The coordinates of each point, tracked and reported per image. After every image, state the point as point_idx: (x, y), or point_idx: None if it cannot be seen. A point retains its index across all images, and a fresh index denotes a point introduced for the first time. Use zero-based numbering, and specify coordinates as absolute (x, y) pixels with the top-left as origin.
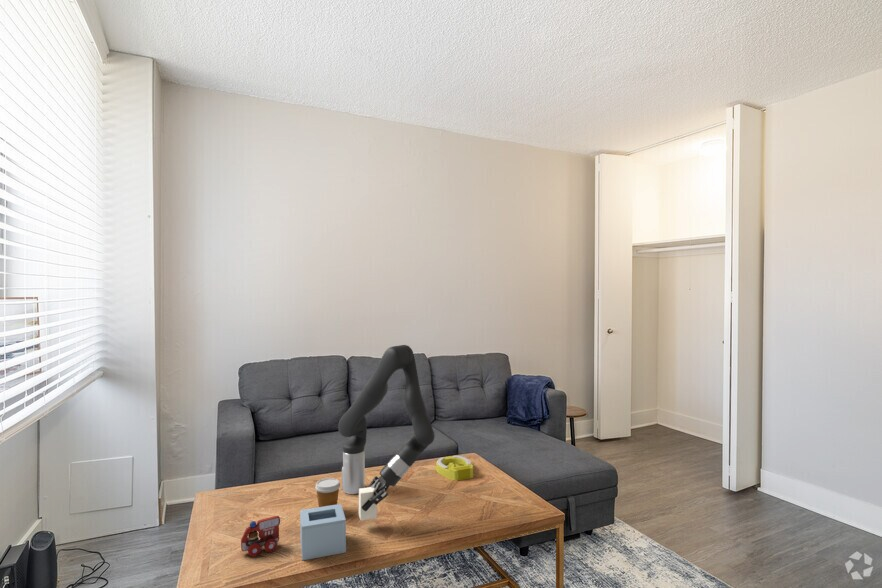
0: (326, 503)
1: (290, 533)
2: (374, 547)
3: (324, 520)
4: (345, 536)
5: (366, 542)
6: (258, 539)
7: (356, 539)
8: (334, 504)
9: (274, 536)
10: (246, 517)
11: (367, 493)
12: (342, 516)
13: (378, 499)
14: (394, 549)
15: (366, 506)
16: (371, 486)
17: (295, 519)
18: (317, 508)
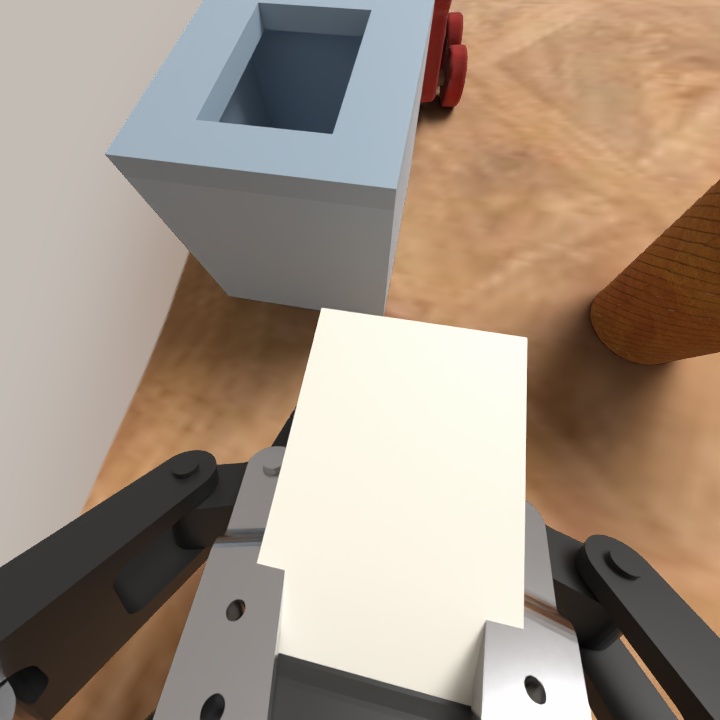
0: (650, 254)
1: (488, 161)
2: (179, 419)
3: (203, 56)
4: (187, 246)
5: (245, 400)
6: None
7: (300, 367)
8: (652, 316)
9: None
10: (677, 68)
11: (295, 430)
12: (170, 148)
13: (169, 582)
14: (90, 507)
15: (293, 415)
16: (530, 649)
17: (607, 192)
18: (405, 52)
